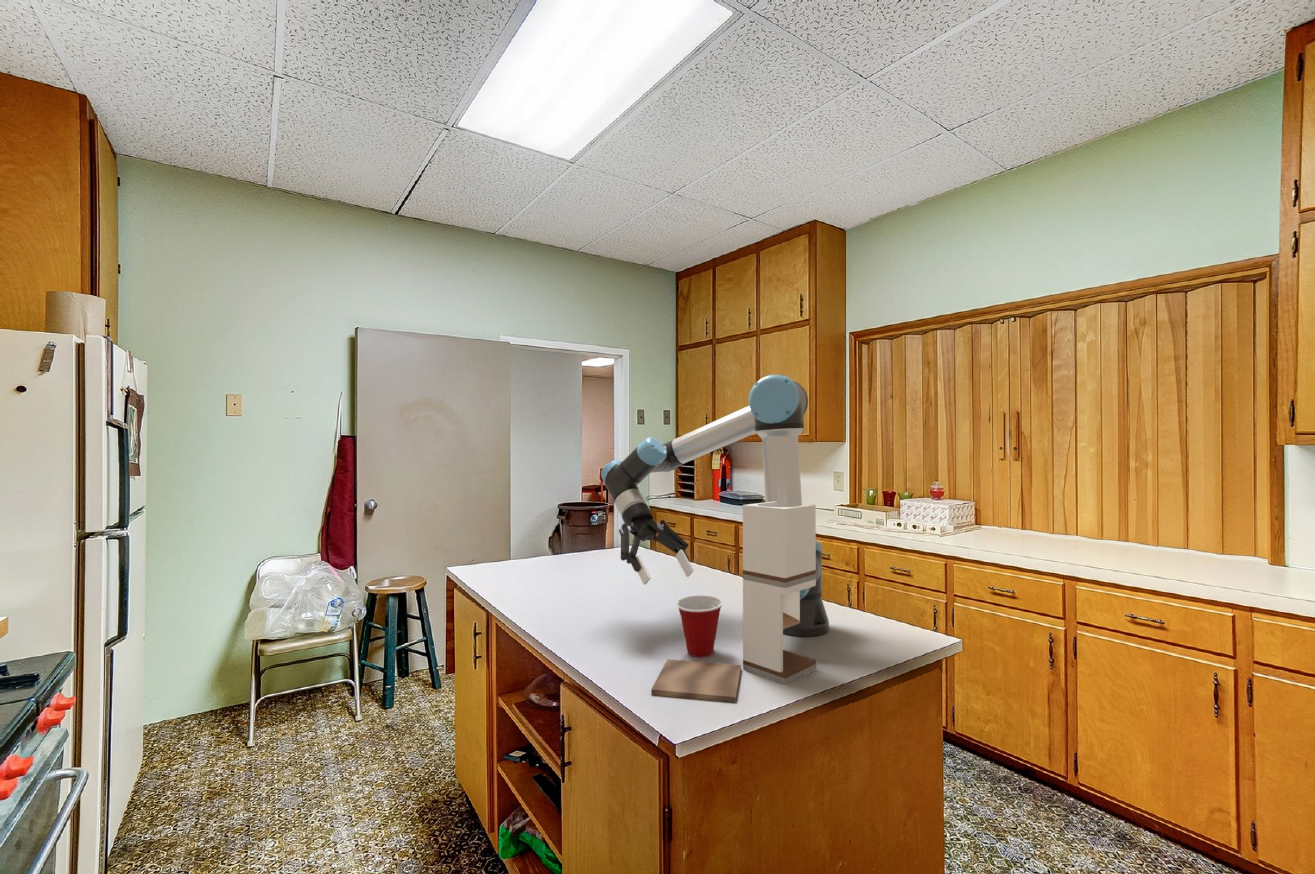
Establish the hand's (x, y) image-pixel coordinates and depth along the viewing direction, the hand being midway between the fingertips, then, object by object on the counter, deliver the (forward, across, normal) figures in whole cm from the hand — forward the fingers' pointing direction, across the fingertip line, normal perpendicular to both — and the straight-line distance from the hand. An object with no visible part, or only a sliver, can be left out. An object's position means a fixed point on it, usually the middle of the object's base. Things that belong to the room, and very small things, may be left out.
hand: (669, 577), depth 141 cm
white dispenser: (+31, -7, +9) cm, 33 cm away
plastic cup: (+19, 0, -3) cm, 19 cm away
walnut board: (+27, +11, +5) cm, 29 cm away
